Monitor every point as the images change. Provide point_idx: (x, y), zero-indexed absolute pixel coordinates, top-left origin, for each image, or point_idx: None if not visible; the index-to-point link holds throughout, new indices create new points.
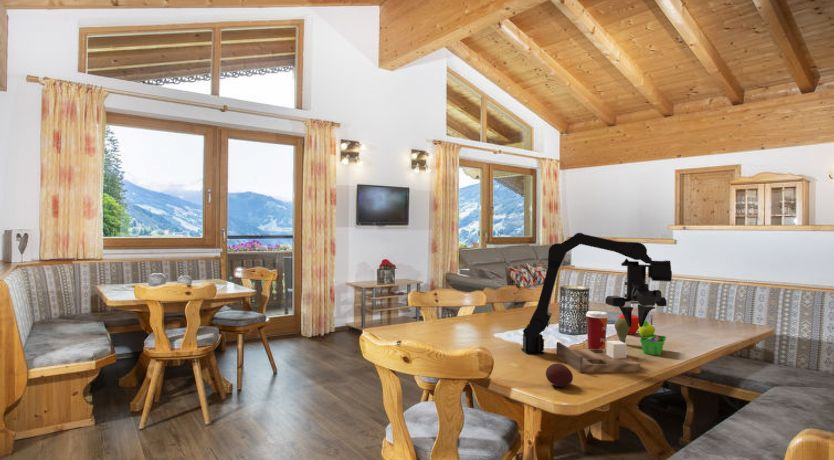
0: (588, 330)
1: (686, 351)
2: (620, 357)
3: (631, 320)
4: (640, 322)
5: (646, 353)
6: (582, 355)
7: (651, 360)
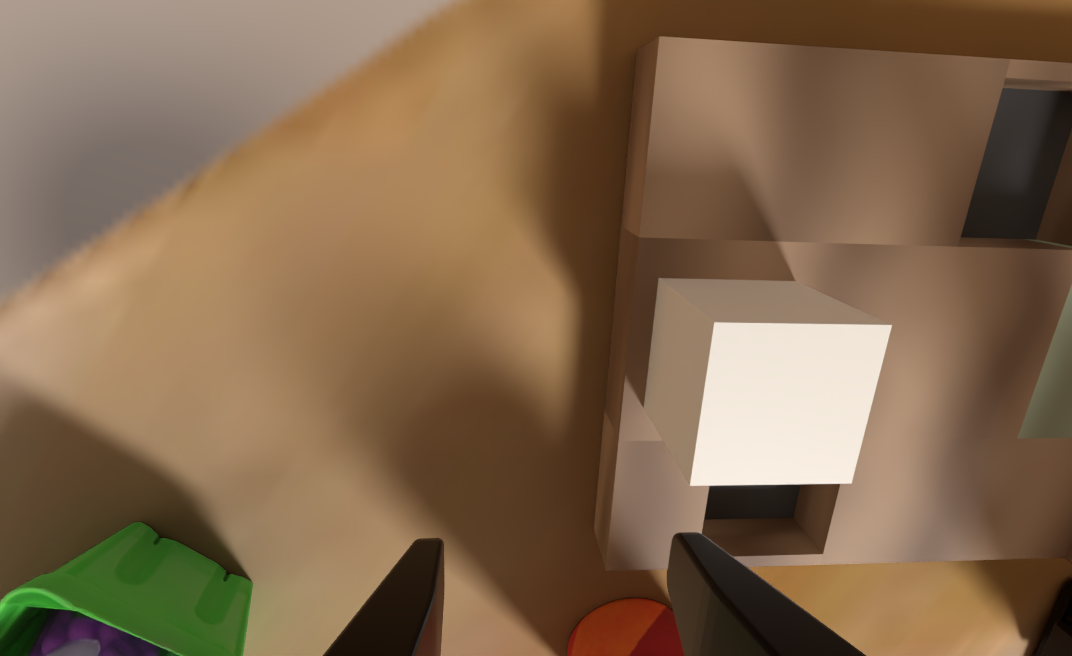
0: None
1: None
2: (722, 280)
3: (758, 626)
4: (437, 634)
5: (233, 574)
6: (1013, 383)
7: (303, 381)
